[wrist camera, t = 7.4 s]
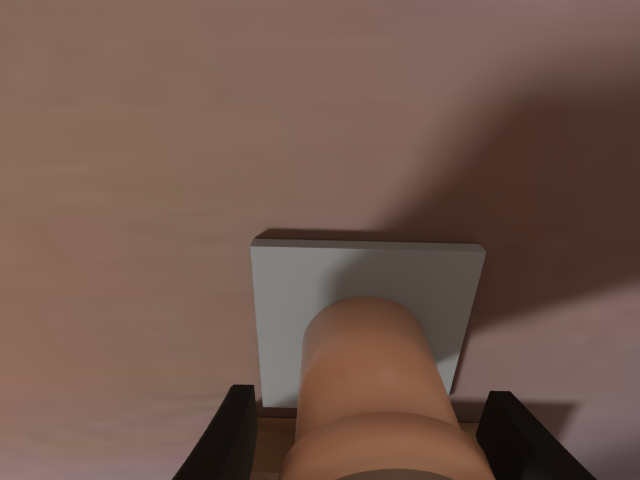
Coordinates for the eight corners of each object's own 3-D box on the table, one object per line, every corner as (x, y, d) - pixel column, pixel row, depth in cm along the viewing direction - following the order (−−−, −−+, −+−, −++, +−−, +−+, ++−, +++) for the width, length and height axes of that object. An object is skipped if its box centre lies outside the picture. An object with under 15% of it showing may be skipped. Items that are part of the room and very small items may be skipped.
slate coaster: (440, 400, 16) (444, 411, 15) (265, 395, 16) (263, 406, 15) (479, 243, 12) (486, 252, 12) (253, 238, 12) (250, 246, 12)
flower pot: (423, 396, 15) (526, 738, 7) (295, 394, 15) (265, 733, 7) (445, 289, 12) (634, 637, 5) (291, 287, 12) (241, 630, 5)
